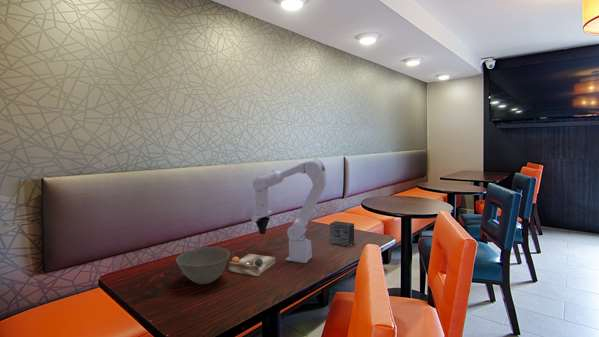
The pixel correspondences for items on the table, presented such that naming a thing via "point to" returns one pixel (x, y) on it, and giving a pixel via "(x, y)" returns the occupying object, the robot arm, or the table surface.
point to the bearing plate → (252, 264)
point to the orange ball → (235, 259)
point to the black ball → (258, 262)
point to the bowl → (203, 263)
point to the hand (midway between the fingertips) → (262, 233)
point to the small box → (342, 233)
